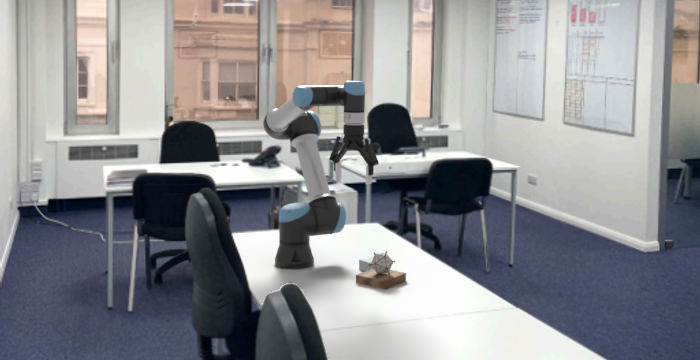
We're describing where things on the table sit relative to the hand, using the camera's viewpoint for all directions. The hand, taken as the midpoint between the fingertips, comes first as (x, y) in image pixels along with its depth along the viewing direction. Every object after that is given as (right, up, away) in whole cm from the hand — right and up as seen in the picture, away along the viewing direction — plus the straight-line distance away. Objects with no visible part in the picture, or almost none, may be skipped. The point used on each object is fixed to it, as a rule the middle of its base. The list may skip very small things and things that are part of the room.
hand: (353, 182), depth 296 cm
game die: (+10, -33, -4) cm, 35 cm away
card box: (+8, -33, +14) cm, 37 cm away
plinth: (+10, -36, -4) cm, 37 cm away
